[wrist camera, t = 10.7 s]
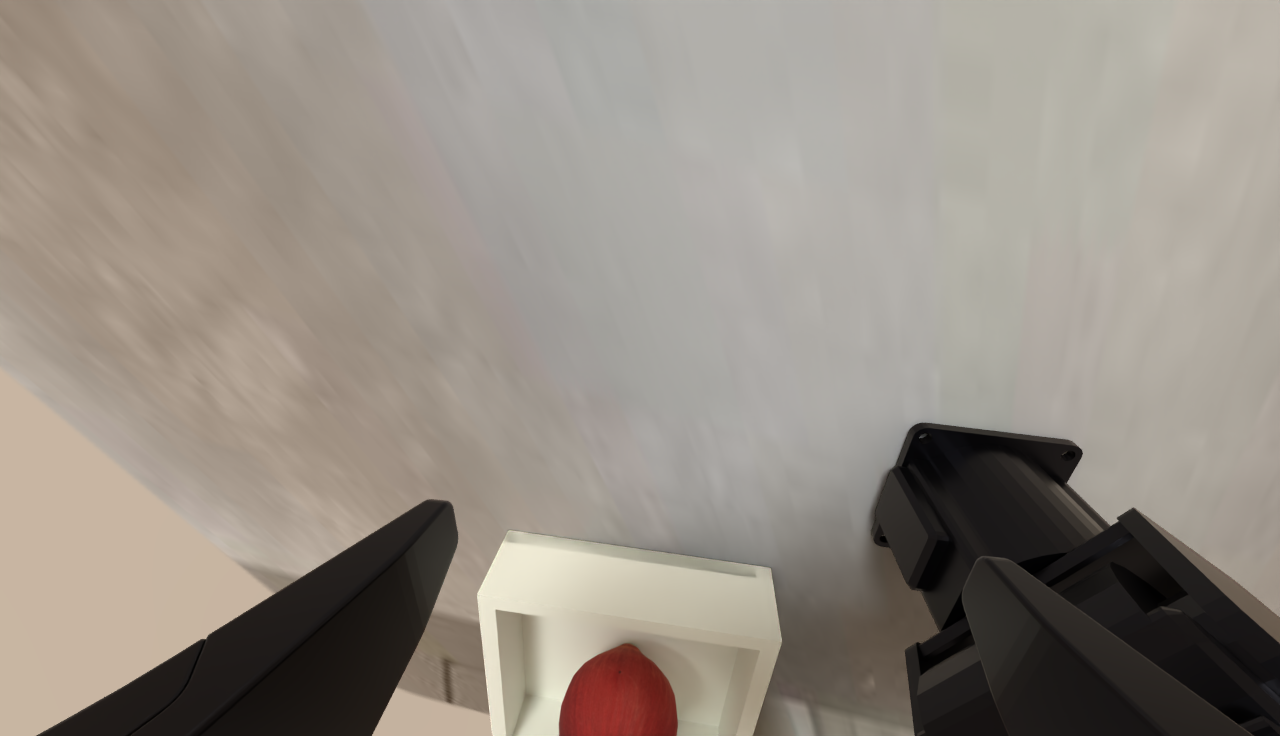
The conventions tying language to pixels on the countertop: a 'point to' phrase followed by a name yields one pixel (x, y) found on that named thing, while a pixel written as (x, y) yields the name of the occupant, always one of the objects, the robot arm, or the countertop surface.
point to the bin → (625, 630)
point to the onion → (619, 697)
